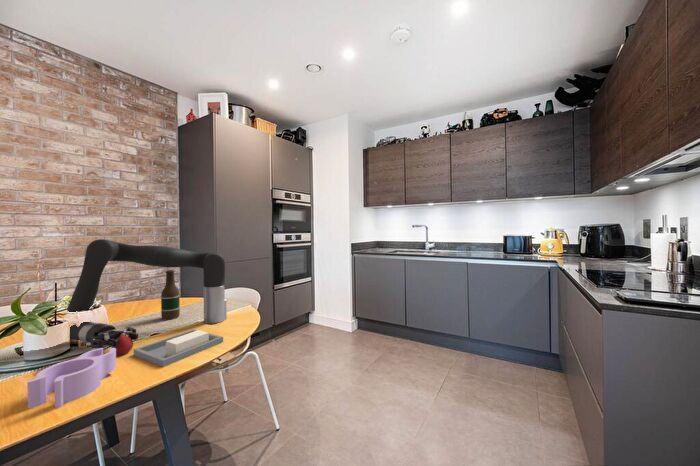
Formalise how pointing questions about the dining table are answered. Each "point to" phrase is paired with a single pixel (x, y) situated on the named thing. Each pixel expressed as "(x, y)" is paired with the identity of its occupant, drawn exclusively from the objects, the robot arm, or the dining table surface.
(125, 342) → the onion
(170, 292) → the beer bottle
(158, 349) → the tray
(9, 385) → the dining table surface
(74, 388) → the clip
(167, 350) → the white box
